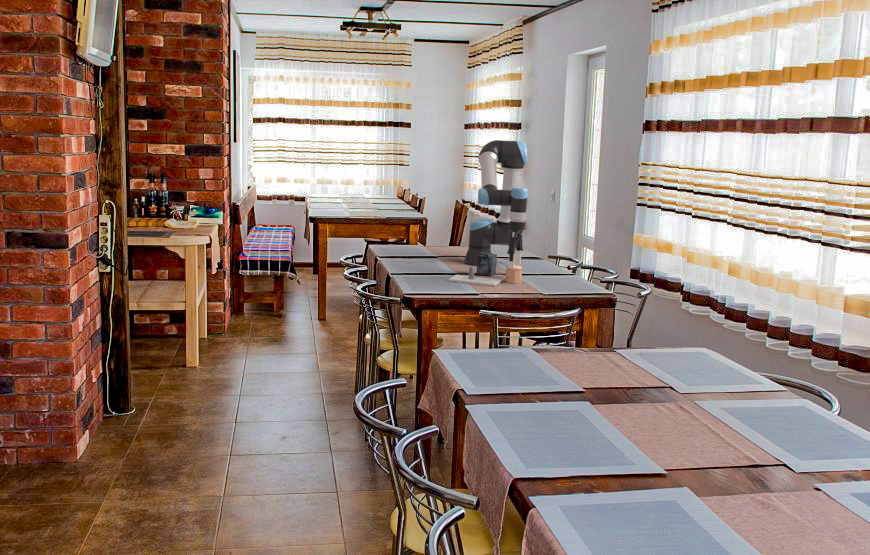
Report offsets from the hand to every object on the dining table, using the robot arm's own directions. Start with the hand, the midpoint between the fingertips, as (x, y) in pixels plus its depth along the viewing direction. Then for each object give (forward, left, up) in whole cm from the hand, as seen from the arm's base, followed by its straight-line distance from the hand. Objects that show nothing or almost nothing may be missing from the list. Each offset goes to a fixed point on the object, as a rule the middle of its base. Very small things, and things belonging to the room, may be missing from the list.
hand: (514, 266), depth 396 cm
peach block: (0, 0, -8) cm, 8 cm away
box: (-11, -16, -8) cm, 21 cm away
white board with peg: (+9, -16, -8) cm, 20 cm away
